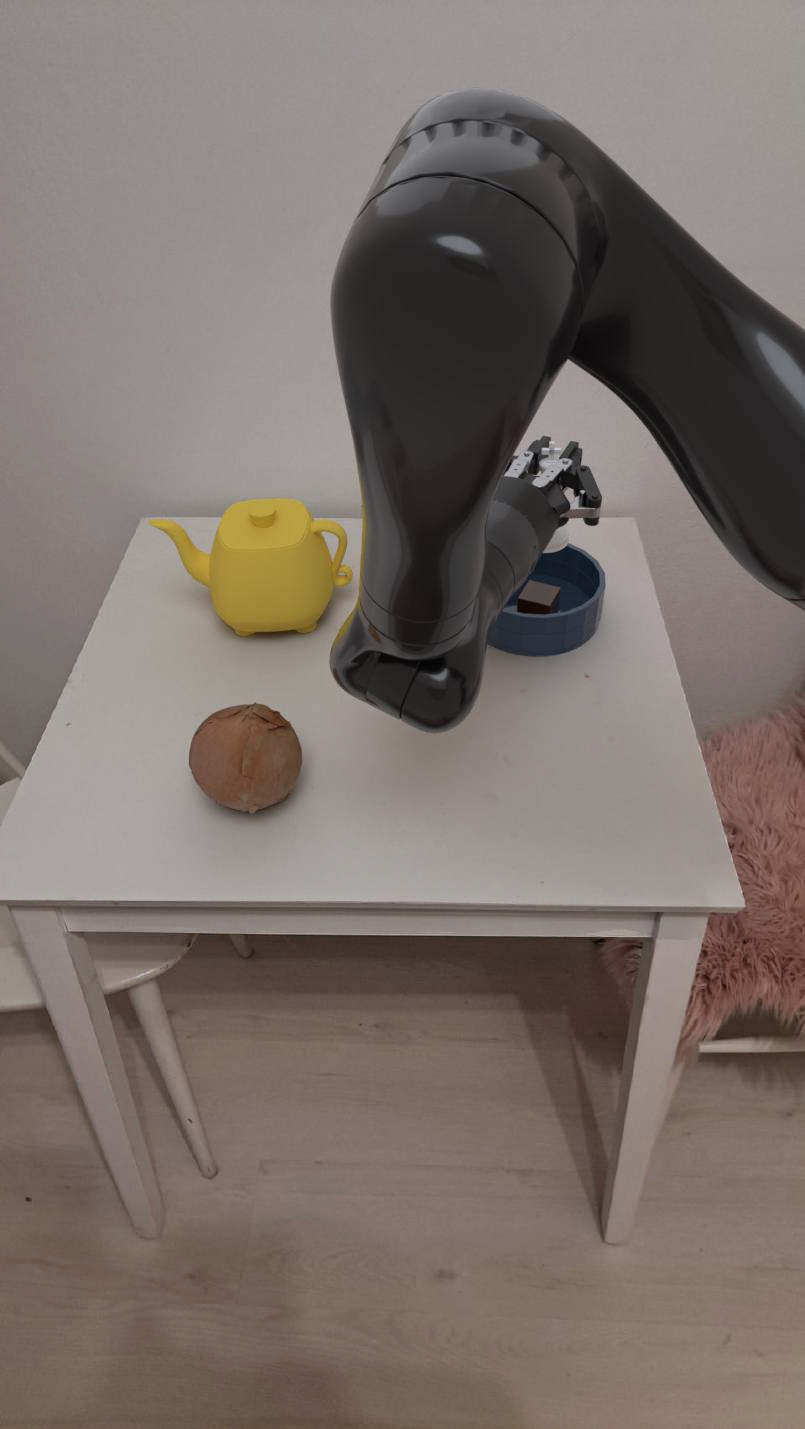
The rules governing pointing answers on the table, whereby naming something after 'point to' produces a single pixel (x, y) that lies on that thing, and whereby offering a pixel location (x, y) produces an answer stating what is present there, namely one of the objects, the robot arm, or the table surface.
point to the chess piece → (561, 534)
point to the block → (539, 599)
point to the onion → (246, 757)
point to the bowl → (575, 612)
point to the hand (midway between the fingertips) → (559, 448)
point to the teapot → (266, 565)
